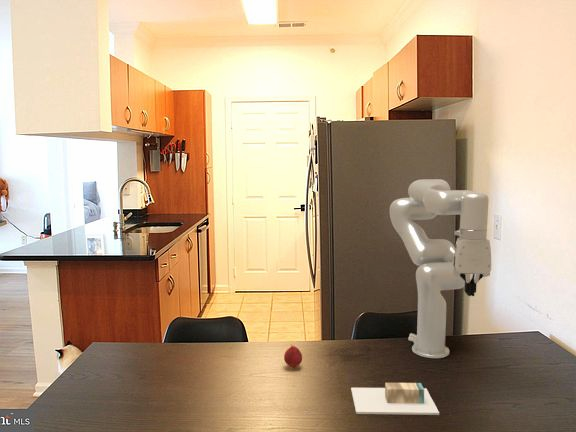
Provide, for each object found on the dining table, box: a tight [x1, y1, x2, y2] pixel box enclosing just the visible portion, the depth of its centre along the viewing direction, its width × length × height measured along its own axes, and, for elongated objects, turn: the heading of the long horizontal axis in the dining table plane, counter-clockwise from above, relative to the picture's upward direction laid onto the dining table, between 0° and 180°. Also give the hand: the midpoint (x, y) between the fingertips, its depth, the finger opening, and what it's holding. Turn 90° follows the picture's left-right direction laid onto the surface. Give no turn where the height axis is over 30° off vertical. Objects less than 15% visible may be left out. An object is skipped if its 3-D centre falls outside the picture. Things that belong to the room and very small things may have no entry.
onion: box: [283, 344, 303, 369], centre depth 162 cm, size 6×6×8 cm
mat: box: [350, 387, 440, 416], centre depth 140 cm, size 22×14×1 cm, turn 89°
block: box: [384, 382, 424, 403], centre depth 140 cm, size 4×4×10 cm
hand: (470, 294), depth 151 cm, fingers closed
